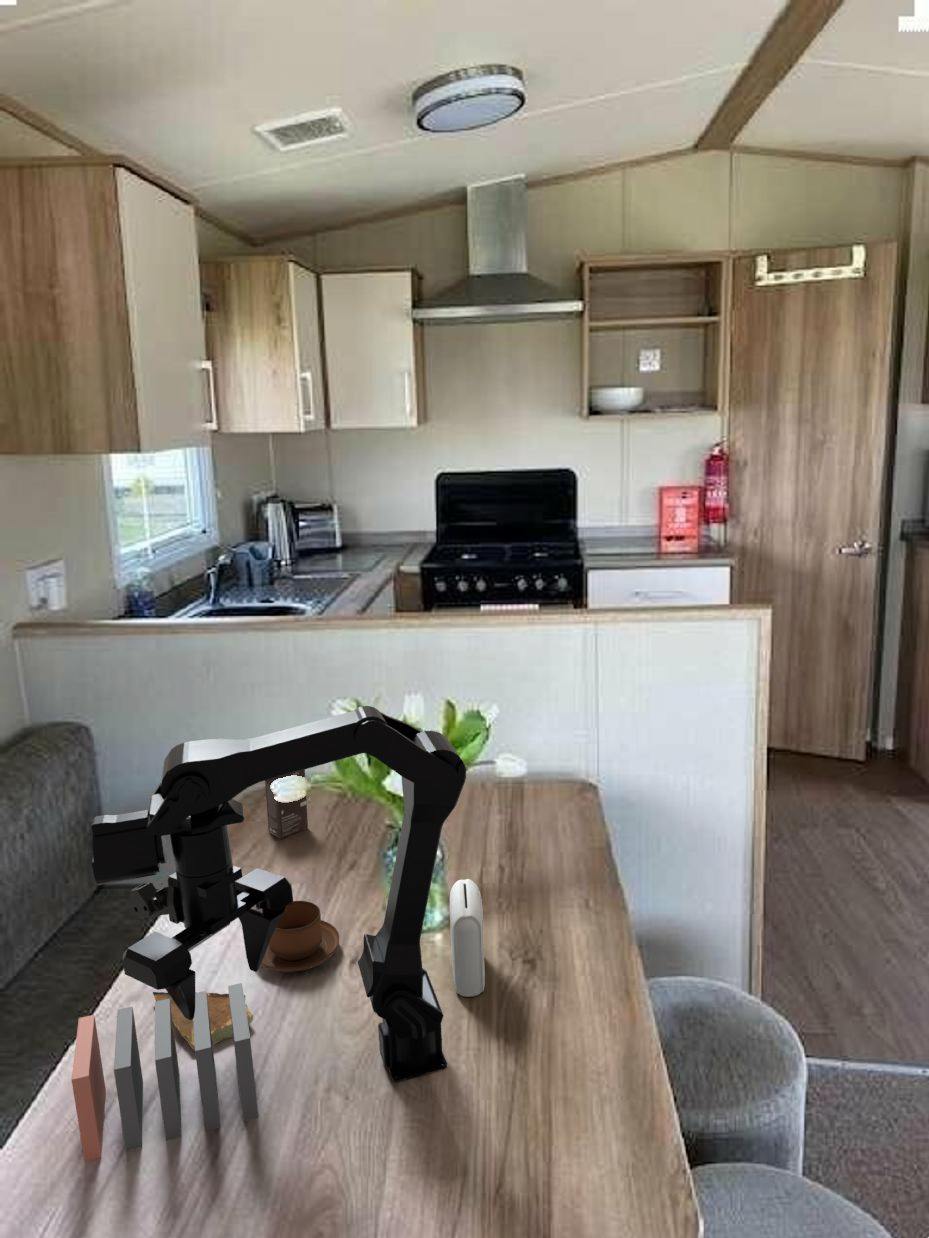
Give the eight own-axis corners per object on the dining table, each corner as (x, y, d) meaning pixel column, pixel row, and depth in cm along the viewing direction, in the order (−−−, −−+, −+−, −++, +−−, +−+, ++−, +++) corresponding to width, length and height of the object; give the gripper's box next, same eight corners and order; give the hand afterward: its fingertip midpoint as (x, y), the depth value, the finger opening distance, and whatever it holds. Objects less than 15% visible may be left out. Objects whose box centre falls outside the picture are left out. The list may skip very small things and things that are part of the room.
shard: (153, 1004, 121) (151, 989, 121) (221, 976, 127) (219, 962, 126) (191, 1059, 111) (189, 1043, 110) (263, 1026, 116) (262, 1010, 116)
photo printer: (451, 951, 129) (448, 871, 126) (482, 950, 129) (479, 869, 126) (453, 999, 119) (449, 913, 116) (486, 997, 120) (483, 911, 116)
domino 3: (179, 1073, 108) (169, 998, 106) (181, 1136, 99) (171, 1056, 96) (164, 1076, 108) (154, 1001, 105) (165, 1141, 98) (154, 1060, 96)
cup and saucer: (235, 971, 127) (231, 931, 126) (281, 923, 138) (278, 886, 136) (313, 987, 123) (310, 946, 121) (354, 937, 134) (352, 899, 132)
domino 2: (143, 1082, 107) (132, 1006, 105) (142, 1147, 98) (130, 1065, 95) (128, 1085, 106) (117, 1009, 104) (125, 1151, 97) (113, 1069, 95)
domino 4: (214, 1064, 109) (206, 990, 107) (220, 1127, 100) (210, 1047, 98) (200, 1068, 109) (191, 993, 106) (205, 1131, 100) (195, 1050, 97)
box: (282, 840, 163) (276, 776, 160) (268, 832, 166) (262, 769, 163) (310, 828, 167) (305, 765, 164) (296, 820, 170) (291, 759, 167)
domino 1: (106, 1090, 106) (94, 1014, 103) (101, 1157, 97) (88, 1075, 94) (90, 1094, 105) (79, 1017, 103) (84, 1162, 96) (71, 1079, 94)
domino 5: (249, 1056, 110) (242, 982, 108) (258, 1117, 101) (250, 1037, 99) (235, 1059, 110) (227, 985, 108) (243, 1121, 101) (234, 1041, 98)
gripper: (219, 811, 109) (236, 929, 113) (77, 886, 94) (102, 1019, 98) (288, 831, 103) (303, 955, 107) (148, 915, 88) (172, 1056, 92)
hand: (222, 993), depth 101 cm, fingers open, 9 cm apart
